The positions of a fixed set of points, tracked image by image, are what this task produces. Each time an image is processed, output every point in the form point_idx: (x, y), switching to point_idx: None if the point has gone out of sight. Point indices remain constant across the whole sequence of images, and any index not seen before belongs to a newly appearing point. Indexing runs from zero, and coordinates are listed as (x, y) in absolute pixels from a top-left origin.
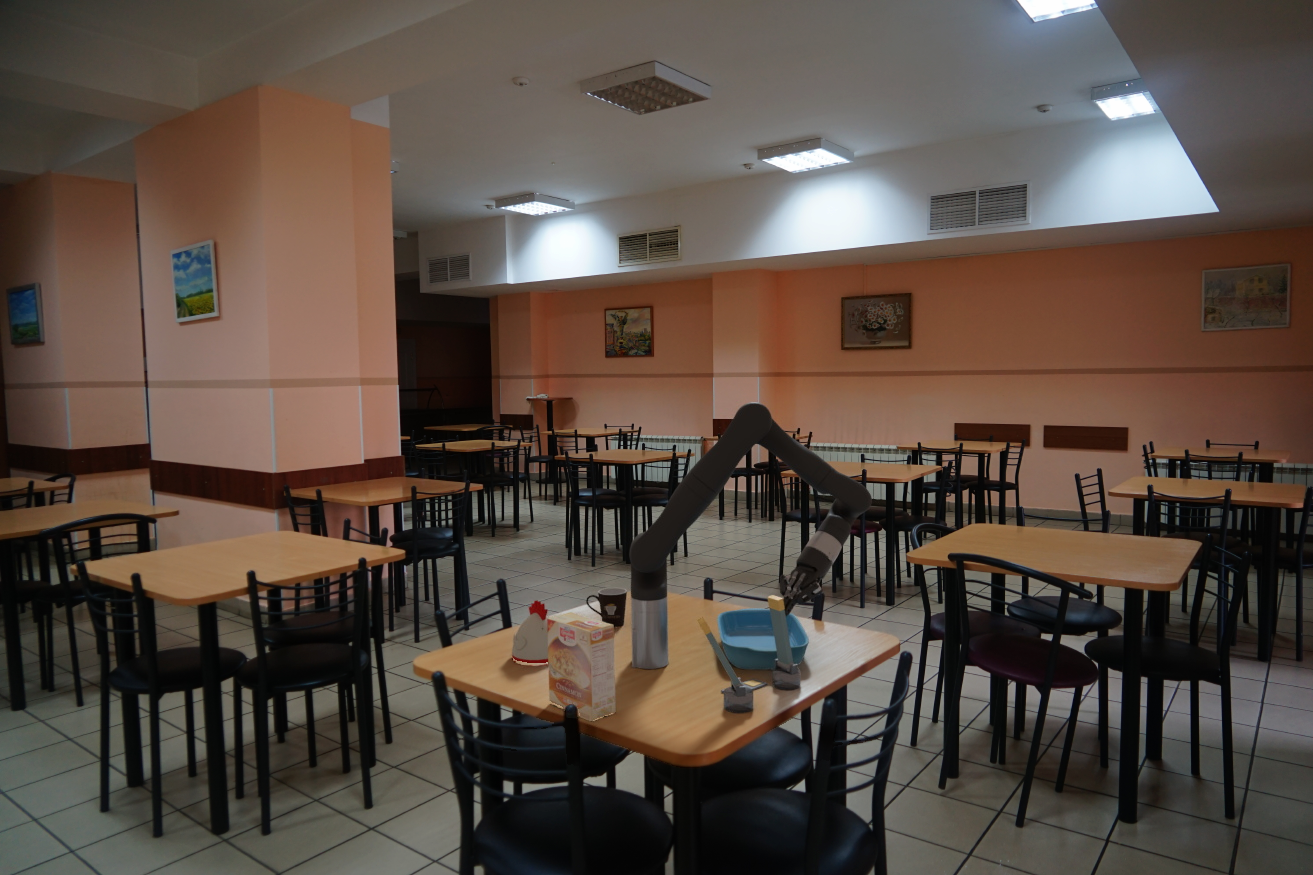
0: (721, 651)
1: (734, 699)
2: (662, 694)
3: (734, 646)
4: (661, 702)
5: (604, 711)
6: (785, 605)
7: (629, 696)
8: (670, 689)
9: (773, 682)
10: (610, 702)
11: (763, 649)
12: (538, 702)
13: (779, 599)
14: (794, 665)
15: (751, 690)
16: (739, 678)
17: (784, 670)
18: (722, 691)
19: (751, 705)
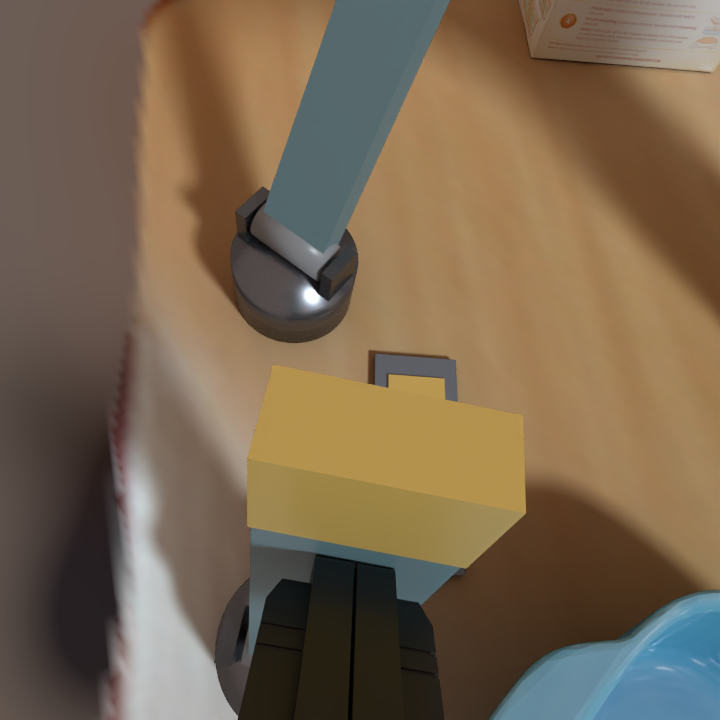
0: (329, 28)
1: None
2: (569, 219)
3: (687, 595)
4: (513, 173)
5: (529, 11)
6: (305, 630)
7: (617, 152)
8: (592, 265)
9: None
10: (541, 9)
11: (537, 697)
12: None
13: (275, 401)
14: (222, 629)
15: (259, 296)
16: (325, 270)
17: None
18: (445, 360)
19: (234, 288)
